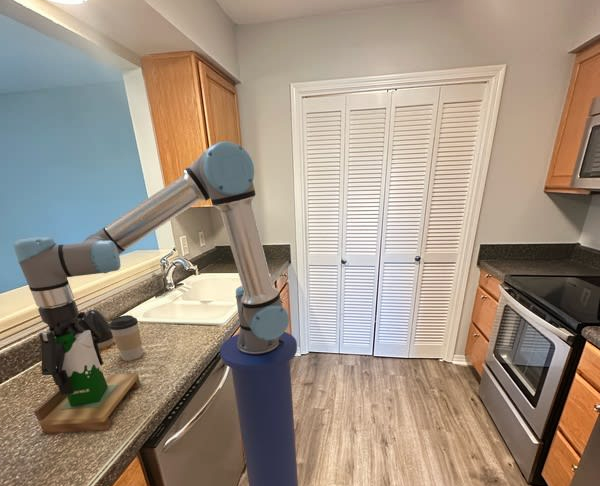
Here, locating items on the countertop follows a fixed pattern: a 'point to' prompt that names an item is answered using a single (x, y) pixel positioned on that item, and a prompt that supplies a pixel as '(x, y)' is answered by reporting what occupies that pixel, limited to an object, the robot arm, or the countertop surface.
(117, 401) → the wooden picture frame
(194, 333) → the countertop surface
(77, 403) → the soya milk
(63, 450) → the countertop surface
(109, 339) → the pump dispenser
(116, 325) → the coffee cup
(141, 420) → the countertop surface
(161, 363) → the countertop surface
